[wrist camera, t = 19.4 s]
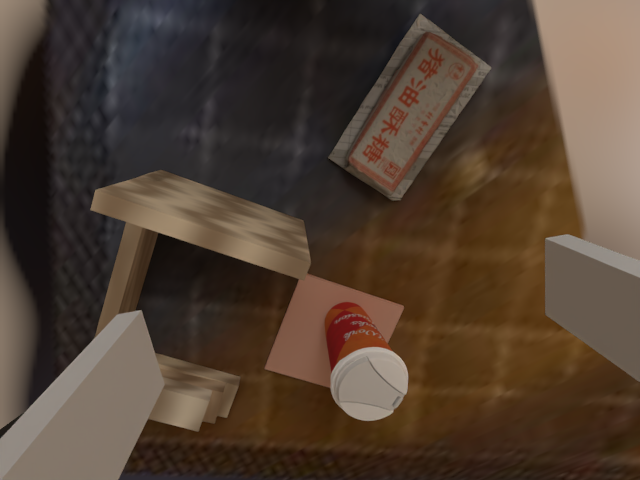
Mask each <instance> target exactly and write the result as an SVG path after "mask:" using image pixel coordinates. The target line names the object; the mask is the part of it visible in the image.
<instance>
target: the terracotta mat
mask: <svg viewBox="0 0 640 480" xmlns="http://www.w3.org/2000/svg"><path fill="white" fill-rule="evenodd" d="M343 302H352V303H355V304H358V305H359V306H361V307H362V308H363V309H364V311H365V312H366V313H367V314H368V316H369V317H370V319H371V320H372V322H373V323H374V325H375V326H376V327H377V329H378V330H379V332H380V333H381V335H382V336H383V338H384V339H385V341H386V342H387V344H388V342H389V339H390V337H391V335H392V333H393V331H394V329H395V326H396V324H397V322H398V320H399V318H400V316H401V314H402V311H403V309H404V306H403V305H400V304H397V303H394V302H391V301H388V300H385V299H382V298H379V297H376V296H373V295H370V294H367V293H364V292H361V291H358V290H355V289H352V288H349V287H346V286H343V285H340V284H337V283H334V282H331V281H328V280H325V279H322V278H319V277H316V276H313V275H310V274H307V275H306V277H305V280H304V281H303V280H300V279H299V280H298V282H297V285H296V287H295V290H294V292H293V295H292V298H291V300H290V303H289V305H288V308H287V310H286V313H285V315H284V318H283V321H282V323H281V326H280V328H279V331H278V333H277V336H276V339H275V341H274V344H273V346H272V349H271V351H270V354H269V357H268V359H267V362H266V364H265V368H264V369H266V370H270V371H273V372H276V373H280V374H283V375H287V376H290V377H294V378H297V379H301V380H304V381H308V382H311V383H315V384H318V385H322V386H325V387H329V388H331V367H330V361H329V355H328V348H327V341H326V334H325V318H326V315H327V313H328V312H329V310H330V309H331V308H332V307H334V306H335V305H337V304H339V303H343Z"/></svg>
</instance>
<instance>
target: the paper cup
mask: <svg viewBox="0 0 640 480" xmlns="http://www.w3.org/2000/svg"><path fill="white" fill-rule="evenodd" d="M325 334H326V341H327V348H328V355H329V361H330V367H331V393H332V396H333V399H334V400H335V402H336V403H337V405H338V406H339V407H340V408H341V409H343V410H344V411H345V412H346V413H347V414H348V415H350V416H351V417H353V418H356V419H359V420H363V421H373V420H378V419H382V418H384V417H386V416H388V415H390V414H392V413H393V410H394V409H395V408H397V407H398V406H399V404H400V403H401V402H402V400H403V397H404V395H406V393H407V388H408V371H407V368H406V365H405V363H404V362H403V360H402V359H401V358H400V357H399V356H398V355H397V354H396V353H394V352H393V351H392V350H391V348H390V347H389V345H388V344H387V342H386V341H385V339H384V338H383V336H382V335H381V333H380V332H379V330H378V329H377V327H376V326H375V325H374V323H373V322H372V320H371V319H370V317H369V316H368V314H367V313H366V312H365V311H364V309H363V308H362V307H361V306H359V305H358V304H355V303H352V302H343V303H339V304H337V305H335V306H334V307H332V308H331V309H330V310H329V312H328V313H327V315H326V318H325Z"/></svg>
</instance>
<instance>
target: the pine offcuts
mask: <svg viewBox="0 0 640 480" xmlns="http://www.w3.org/2000/svg"><path fill="white" fill-rule="evenodd" d="M155 355H156V358H157V361H158V365H159V368H160V371H161V374H162V377H163V381H164V384H165V385H164V387H163V389H162V391H161V393H160V395H159V397H158V399H157V401H156V403H155V405H154V407H153V409H152V411H151V413H150V415H149V417H148V419H150V420H154V421H158V422H162V423H166V424H170V425H174V426H178V427H182V428H186V429H190V430H194V431H199V428H200V426H201V423H202V421H203V422H209V423H214V424H215V421H216V417H217V416H221V417H225V418H227V416H228V413H229V410H230V408H231V405H232V402H233V400H234V397H235V395H236V392H237V389H238V387H239V382H240V377H239V376H236V375H232V374H229V373H225V372H222V371H218V370H214V369H211V368H207V367H204V366H200V365H197V364H193V363H190V362H186V361H182V360H179V359H175V358H172V357H168V356H165V355H161V354H158V353H155Z"/></svg>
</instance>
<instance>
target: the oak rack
mask: <svg viewBox="0 0 640 480" xmlns="http://www.w3.org/2000/svg"><path fill="white" fill-rule="evenodd" d="M91 210H92V211H95V212H98V213H101V214H104V215H107V216H110V217H113V218H116V219H119V220H122V221H125V222H126V225H125V228H124V232H123V236H122V239H121V243H120V247H119V250H118V254H117V258H116V261H115V265H114V269H113V272H112V276H111V280H110V283H109V287H108V291H107V294H106V298H105V302H104V305H103V309H102V313H101V316H100V320H99V324H98V327H97V331H96V335H95V337H96V336H97V335H98V334H99V333H100V332H101V331H102V330H103V329H104V328H105V327H106V326H107V325H108V324H109V323H110V321H111V320H112V319H113V318H114V317H115V316H116V315H117V314H122V313H128V312H133V311H136V307H137V304H138V300H139V297H140V294H141V290H142V287H143V283H144V280H145V277H146V273H147V270H148V266H149V263H150V260H151V256H152V253H153V249H154V246H155V243H156V239H157V236H158V233H161V234H165V235H168V236H171V237H174V238H177V239H180V240H183V241H186V242H189V243H192V244H195V245H198V246H201V247H204V248H207V249H210V250H213V251H216V252H219V253H222V254H225V255H228V256H231V257H234V258H237V259H240V260H243V261H246V262H249V263H252V264H255V265H258V266H261V267H264V268H267V269H270V270H273V271H276V272H279V273H282V274H285V275H288V276H291V277H294V278H297V279H300V280H303V281H304V280H305V277H306V275H307V272H308V270H309V267H310V265H311V260H310V254H309V248H308V242H307V237H306V231H305V225H304V221H303V220H300V219H298V218H295V217H292V216H289V215H287V214H284V213H281V212H278V211H275V210H273V209H270V208H267V207H264V206H261V205H259V204H256V203H253V202H250V201H247V200H245V199H242V198H239V197H236V196H233V195H231V194H228V193H225V192H222V191H219V190H217V189H214V188H211V187H208V186H205V185H203V184H200V183H197V182H194V181H191V180H189V179H186V178H183V177H180V176H177V175H175V174H172V173H169V172H166V171H163V170H159V171H155V172H152V173H149V174H145V175H142V176H139V177H137V178H134V179H131V180H127V181H124V182H120V183H117V184H114V185H110V186H107V187H104V188H100V189H97V190H95V194H94V198H93V202H92V206H91ZM94 339H95V338H94Z"/></svg>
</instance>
